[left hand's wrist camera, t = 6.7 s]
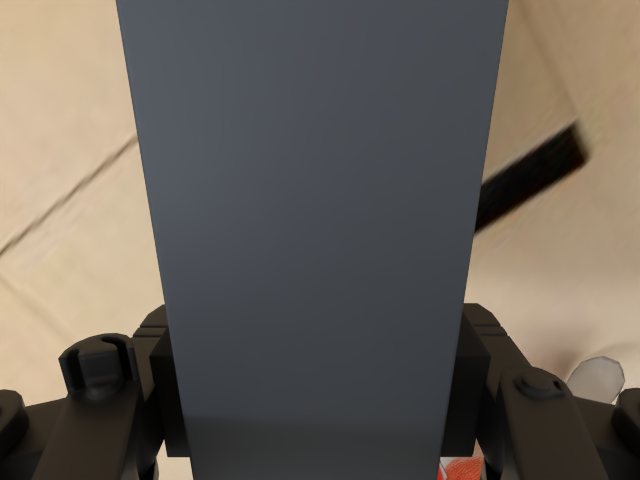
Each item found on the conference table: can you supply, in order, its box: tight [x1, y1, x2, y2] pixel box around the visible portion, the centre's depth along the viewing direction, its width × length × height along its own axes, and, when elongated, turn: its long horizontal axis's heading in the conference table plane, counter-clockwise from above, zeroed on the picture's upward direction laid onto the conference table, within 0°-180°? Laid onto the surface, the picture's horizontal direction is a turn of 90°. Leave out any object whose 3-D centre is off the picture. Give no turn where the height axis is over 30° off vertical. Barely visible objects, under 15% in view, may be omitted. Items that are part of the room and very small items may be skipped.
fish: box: [437, 356, 625, 480], centre depth 24 cm, size 11×16×10 cm
